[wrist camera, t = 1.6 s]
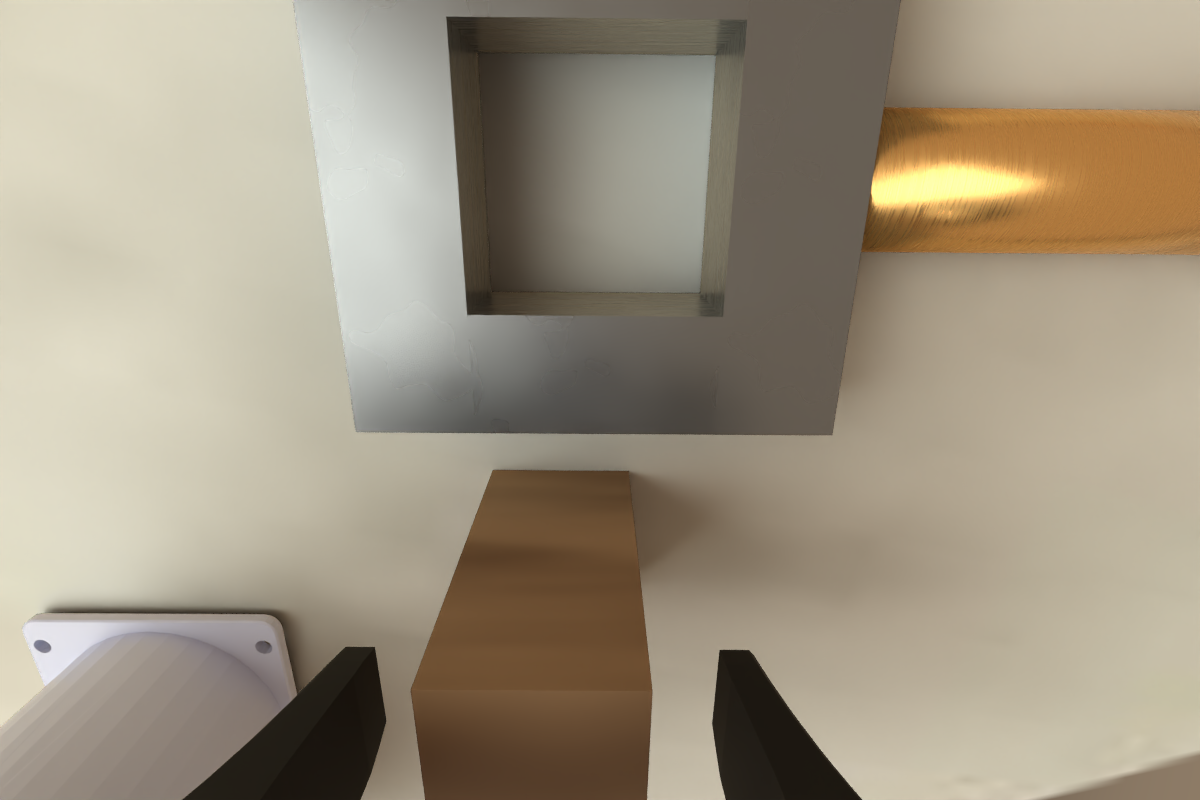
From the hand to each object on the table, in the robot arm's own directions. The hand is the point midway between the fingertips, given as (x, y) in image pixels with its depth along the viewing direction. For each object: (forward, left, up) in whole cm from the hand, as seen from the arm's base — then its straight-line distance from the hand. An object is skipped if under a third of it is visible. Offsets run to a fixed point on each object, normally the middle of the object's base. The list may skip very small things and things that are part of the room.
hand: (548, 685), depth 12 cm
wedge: (0, 0, -6) cm, 6 cm away
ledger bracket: (+10, -7, -6) cm, 13 cm away
